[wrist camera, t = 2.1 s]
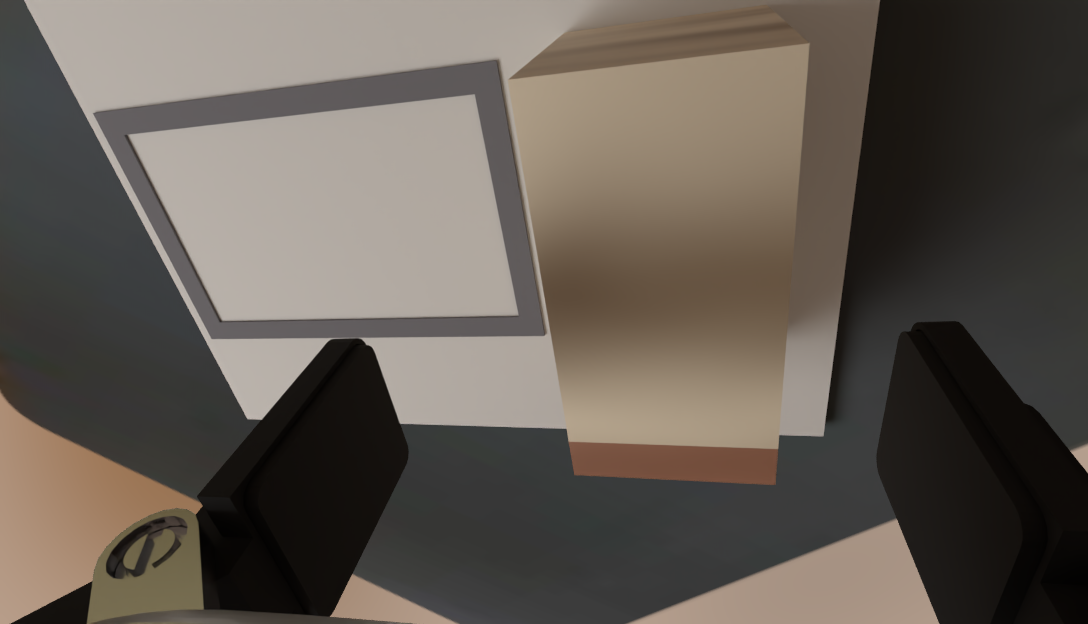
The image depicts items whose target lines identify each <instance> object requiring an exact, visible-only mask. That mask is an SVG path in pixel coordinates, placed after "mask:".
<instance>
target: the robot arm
mask: <svg viewBox="0 0 1088 624" xmlns="http://www.w3.org/2000/svg"><path fill="white" fill-rule="evenodd" d="M407 460H408V445H407V442H406V439H405V437H404V434H403V431H402V428H401V425H400V422H399V420H398V417H397V414H396V411H395V408H394V405H393V403H392V400H391V397H390V394H389V391H388V388H387V385H386V383H385V380H384V377H383V374H382V371H381V368H380V366H379V363H378V360H377V357H376V354H375V352H374V350H373V348H372V347H371V346H369V345H366V343H365V342H364V341H363V340H362V339H360V338H343V339H331V340H329V341H328V342H327V343H326V344H325V345H324V347H323V348H322V349H321V350H320V351H319V353H318V354H317V355H316V356H315V357H314V358H313V360H312V361H311V362H310V363H309V364H308V366H307V367H306V368H305V369H304V370H303V371H302V373H301V374H300V375H299V376H298V377H297V379H296V380H295V381H294V382H293V383H292V384H291V386H290V387H289V388H288V389H287V390H286V392H285V393H284V394H283V395H282V396H281V397H280V399H279V400H278V401H277V402H276V403H275V405H274V406H273V407H272V408H271V409H270V410H269V412H268V413H267V414H266V415H265V416H264V418H263V419H262V420H261V421H260V422H259V424H258V425H257V426H256V427H255V428H254V429H253V431H252V432H251V433H250V434H249V435H248V437H247V438H246V439H245V440H244V441H243V442H242V444H241V445H240V446H239V447H238V448H237V450H236V451H235V452H234V453H233V454H232V455H231V457H230V458H229V459H228V460H227V461H226V463H225V464H224V465H223V466H222V467H221V468H220V470H219V471H218V472H217V473H216V474H215V476H214V477H213V478H212V479H211V480H210V481H209V483H208V484H207V485H206V486H205V487H204V489H203V490H202V491H201V492H200V493H199V495H198V496H197V497H198V499H199V501H200V502H201V504H202V505H203V507H202V508H201V509H200V510H199V511H198V513H197V514H196V515H195V514H194V513H192V512H191V511H189V510H187V509H179V508H176V509H169V510H163V511H160V512H158V513H155V514H152V515H149V516H147V517H146V518H143V519H141V520H140V521H138V522H136V523H134V524H133V525H131V526H130V527H128V528H127V529H126V530H124V531H123V532H122V533H120V534H119V535H118V536H117V537H116V538H115V539H114V540H113V541H112V542H111V543H110V544H109V545H108V546H107V547H106V548H105V550H104V551H103V553H102V554H101V556H100V557H99V559H98V561H97V564H96V567H95V569H94V574H93V581H92V582H90V583H88V584H86V585H84V586H82V587H80V588H79V589H76V590H75V591H73V592H71V593H69V594H67V595H65V596H63V597H61V598H59V599H57V600H55V601H53V602H51V603H49V604H47V605H46V606H44V607H42V608H40V609H38V610H36V611H34V612H32V613H30V614H28V615H26V616H24V617H22V618H21V619H19V620H17V621H15V622H13V623H11V624H411V623H398V622H387V621H374V620H362V619H350V618H337V617H330V615H331V614H332V613H333V611H334V610H335V608H336V605H337V604H338V602H339V599H340V597H341V595H342V593H343V591H344V589H345V587H346V585H347V583H348V581H349V579H350V577H351V575H352V573H353V571H354V569H355V567H356V565H357V563H358V561H359V559H360V557H361V555H362V553H363V551H364V549H365V547H366V545H367V543H368V541H369V539H370V537H371V535H372V533H373V531H374V529H375V527H376V525H377V523H378V521H379V519H380V517H381V515H382V513H383V511H384V509H385V506H386V504H387V502H388V500H389V498H390V496H391V494H392V492H393V490H394V488H395V486H396V484H397V482H398V480H399V478H400V476H401V474H402V472H403V470H404V468H405V466H406V464H407ZM877 468H878V473H879V476H880V478H881V481H882V483H883V486H884V488H885V491H886V493H887V496H888V498H889V501H890V503H891V506H892V508H893V510H894V513H895V515H896V518H897V520H898V523H899V525H900V528H901V530H902V533H903V535H904V538H905V540H906V543H907V545H908V547H909V550H910V552H911V555H912V557H913V560H914V562H915V565H916V567H917V569H918V572H919V575H920V577H921V579H922V582H923V584H924V587H925V589H926V592H927V594H928V597H929V599H930V602H931V604H932V606H933V609H934V611H935V614H936V616H937V619H938V621H939V623H940V624H1088V473H1087V472H1086V470H1085V469H1084V468H1083V467H1082V465H1081V464H1080V463H1079V462H1078V461H1077V459H1076V458H1075V457H1074V455H1073V454H1072V453H1071V452H1070V450H1069V449H1068V448H1067V447H1066V445H1065V444H1064V443H1063V442H1062V440H1061V439H1060V438H1059V437H1058V436H1057V434H1056V433H1055V432H1054V431H1053V429H1052V428H1051V427H1050V426H1049V424H1048V423H1047V422H1046V421H1045V419H1044V418H1043V417H1042V416H1041V414H1040V413H1039V412H1038V411H1037V410H1035V409H1034V408H1033V407H1032V406H1030V405H1027V404H1024V403H1023V402H1022V401H1021V399H1020V398H1019V397H1018V395H1017V394H1016V393H1015V392H1014V390H1013V389H1012V388H1011V386H1010V385H1009V384H1008V383H1007V381H1006V380H1005V379H1004V378H1003V376H1002V375H1001V374H1000V372H999V371H998V370H997V369H996V367H995V366H994V365H993V364H992V362H991V361H990V360H989V358H988V357H987V356H986V355H985V353H984V352H983V351H982V350H981V348H980V347H979V346H978V344H977V343H976V342H975V341H974V339H973V338H972V337H971V335H970V334H969V333H968V332H967V330H966V329H965V328H964V327H963V325H962V324H960V323H959V322H956V321H947V322H917V323H915V324H914V325H913V327H912V329H911V331H909V332H902V333H901V334H900V336H899V339H898V344H897V349H896V355H895V360H894V365H893V370H892V376H891V381H890V386H889V391H888V397H887V402H886V407H885V412H884V418H883V423H882V428H881V433H880V439H879V444H878V449H877Z"/></svg>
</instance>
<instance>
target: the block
mask: <svg viewBox="0 0 1088 624" xmlns="http://www.w3.org/2000/svg"><path fill="white" fill-rule="evenodd" d="M809 46H810V43H809V42H808V41H807V40H806V39H804V38H803V37H802V36H801V35H800V34H799V33H798V32H797V31H795V30H794V29H793V28H792V27H791V26H790V25H789V24H788V23H787V22H785V21H784V20H783V19H782V18H781V17H780V16H779V15H778V14H777V13H775V12H774V11H773V10H772V9H771V8H770V7H769V6H768V5H761V6H754V7H747V8H739V9H732V10H725V11H718V12H710V13H703V14H696V15H689V16H681V17H674V18H667V19H660V20H652V21H645V22H638V23H631V24H624V25H616V26H609V27H602V28H595V29H587V30H580V31H573V32H566V33H563V34H562V35H561V36H560V37H559V38H557V39H556V40H555V41H554V42H553V43H551V44H550V45H549V46H548V47H547V48H545V49H544V50H543V51H542V52H541V53H539V54H538V55H537V56H536V57H535V58H533V59H532V60H531V61H530V62H529V63H527V64H526V65H525V66H524V67H523V68H521V69H520V70H519V71H518V72H516V73H515V74H514V75H513V76H512V77H510V78H509V79H508V85H509V91H510V97H511V102H512V108H513V114H514V120H515V126H516V132H517V138H518V144H519V150H520V156H521V162H522V168H523V173H524V179H525V185H526V191H527V197H528V203H529V209H530V215H531V221H532V227H533V233H534V238H535V244H536V250H537V256H538V262H539V268H540V274H541V280H542V286H543V292H544V298H545V304H546V309H547V315H548V321H549V327H550V333H551V339H552V345H553V351H554V357H555V363H556V369H557V374H558V380H559V386H560V392H561V398H562V404H563V410H564V416H565V422H566V428H567V434H568V440H569V445H570V451H571V457H572V463H573V469H574V475H586V476H607V477H627V478H647V479H667V480H687V481H708V482H728V483H748V484H768V485H775V482H776V469H777V456H778V443H779V430H780V418H781V405H782V392H783V379H784V366H785V353H786V341H787V328H788V315H789V302H790V289H791V277H792V264H793V251H794V238H795V225H796V213H797V200H798V187H799V174H800V161H801V148H802V136H803V123H804V110H805V97H806V84H807V72H808V59H809Z"/></svg>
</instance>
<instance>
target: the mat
mask: <svg viewBox="0 0 1088 624" xmlns="http://www.w3.org/2000/svg"><path fill="white" fill-rule="evenodd" d="M24 1H25V3H26V5H27V7H28V9H29V10H30V12H31V14H32V16H33V18H34V20H35V22H36V24H37V25H38V27H39V29H40V31H41V33H42V35H43V37H44V39H45V40H46V42H47V44H48V46H49V48H50V50H51V52H52V53H53V55H54V57H55V59H56V61H57V63H58V65H59V67H60V68H61V70H62V72H63V74H64V76H65V78H66V80H67V82H68V83H69V85H70V87H71V89H72V91H73V93H74V95H75V97H76V98H77V100H78V102H79V104H80V106H81V108H82V110H83V112H84V113H85V115H86V117H87V119H88V121H89V123H90V125H91V127H92V128H93V130H94V132H95V134H96V136H97V138H98V140H99V142H100V143H101V145H102V147H103V149H104V151H105V153H106V155H107V157H108V158H109V160H110V162H111V164H112V166H113V168H114V170H115V172H116V173H117V175H118V177H119V179H120V181H121V183H122V185H123V187H124V188H125V190H126V192H127V194H128V196H129V198H130V200H131V202H132V203H133V205H134V207H135V209H136V211H137V213H138V215H139V217H140V218H141V220H142V222H143V224H144V226H145V228H146V230H147V232H148V233H149V235H150V237H151V239H152V241H153V243H154V245H155V247H156V248H157V250H158V252H159V254H160V256H161V258H162V260H163V262H164V263H165V265H166V267H167V269H168V271H169V273H170V275H171V277H172V278H173V280H174V282H175V284H176V286H177V288H178V290H179V292H180V293H181V295H182V297H183V299H184V301H185V303H186V305H187V307H188V308H189V310H190V312H191V314H192V316H193V318H194V320H195V322H196V323H197V325H198V327H199V329H200V331H201V333H202V335H203V337H204V338H205V340H206V342H207V344H208V346H209V348H210V350H211V351H212V353H213V355H214V357H215V359H216V361H217V363H218V365H219V366H220V368H221V370H222V372H223V374H224V376H225V378H226V380H227V381H228V383H229V385H230V387H231V389H232V391H233V393H234V395H235V396H236V398H237V400H238V402H239V404H240V406H241V408H242V410H243V411H244V413H245V415H246V417H247V419H263V418H264V416H265V415H266V414H267V413H268V412H269V410H270V409H271V408H272V407H273V406H274V405H275V403H276V402H277V401H278V400H279V399H280V397H281V396H282V395H283V394H284V393H285V392H286V390H287V389H288V388H289V387H290V386H291V384H292V383H293V382H294V381H295V380H296V379H297V377H298V376H299V375H300V374H301V373H302V371H303V370H304V369H305V368H306V367H307V366H308V364H309V363H310V362H311V361H312V360H313V358H314V357H315V356H316V355H317V354H318V353H319V351H320V350H321V349H322V348H323V347H324V345H325V344H326V343H327V342H328V341H329V340H331V339H343V338H360V339H362V340H363V341H364V342H365V343H366V345H369V346H371V347H372V348H373V350H374V352H375V354H376V357H377V360H378V363H379V366H380V368H381V371H382V374H383V377H384V380H385V383H386V385H387V388H388V391H389V394H390V397H391V400H392V403H393V405H394V408H395V411H396V414H397V417H398V420H399V422H400V424H430V425H463V426H497V427H530V428H563V429H567V428H566V422H565V416H564V410H563V404H562V398H561V392H560V386H559V380H558V374H557V369H556V363H555V357H554V351H553V345H552V339H551V333H550V327H549V321H548V315H547V309H546V304H545V298H544V292H543V286H542V280H541V274H540V268H539V262H538V256H537V250H536V244H535V238H534V233H533V227H532V221H531V215H530V209H529V203H528V197H527V191H526V185H525V179H524V173H523V168H522V162H521V156H520V150H519V144H518V138H517V132H516V126H515V120H514V114H513V108H512V102H511V97H510V91H509V85H508V79H509V78H510V77H512V76H513V75H514V74H515V73H516V72H518V71H519V70H520V69H521V68H523V67H524V66H525V65H526V64H527V63H529V62H530V61H531V60H532V59H533V58H535V57H536V56H537V55H538V54H539V53H541V52H542V51H543V50H544V49H545V48H547V47H548V46H549V45H550V44H551V43H553V42H554V41H555V40H556V39H557V38H559V37H560V36H561V35H562V34H563V33H566V32H573V31H580V30H587V29H595V28H602V27H609V26H616V25H624V24H631V23H638V22H645V21H652V20H660V19H667V18H674V17H681V16H689V15H696V14H703V13H710V12H718V11H725V10H732V9H739V8H747V7H754V6H761V5H768V6H769V7H770V8H771V9H772V10H773V11H774V12H775V13H777V14H778V15H779V16H780V17H781V18H782V19H783V20H784V21H785V22H787V23H788V24H789V25H790V26H791V27H792V28H793V29H794V30H795V31H797V32H798V33H799V34H800V35H801V36H802V37H803V38H804V39H806V40H807V41H808V42H809V43H810V46H809V59H808V72H807V84H806V97H805V110H804V123H803V136H802V148H801V161H800V174H799V187H798V200H797V213H796V225H795V238H794V251H793V264H792V277H791V289H790V302H789V315H788V328H787V341H786V353H785V366H784V379H783V392H782V405H781V418H780V430H779V435H796V436H823V435H824V427H825V419H826V412H827V404H828V396H829V389H830V381H831V373H832V366H833V358H834V350H835V342H836V335H837V327H838V319H839V312H840V304H841V296H842V289H843V281H844V273H845V265H846V258H847V250H848V242H849V235H850V227H851V219H852V212H853V204H854V196H855V188H856V181H857V173H858V165H859V158H860V150H861V142H862V135H863V127H864V119H865V112H866V104H867V96H868V88H869V81H870V73H871V65H872V58H873V50H874V42H875V35H876V27H877V19H878V11H879V4H880V0H24Z"/></svg>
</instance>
